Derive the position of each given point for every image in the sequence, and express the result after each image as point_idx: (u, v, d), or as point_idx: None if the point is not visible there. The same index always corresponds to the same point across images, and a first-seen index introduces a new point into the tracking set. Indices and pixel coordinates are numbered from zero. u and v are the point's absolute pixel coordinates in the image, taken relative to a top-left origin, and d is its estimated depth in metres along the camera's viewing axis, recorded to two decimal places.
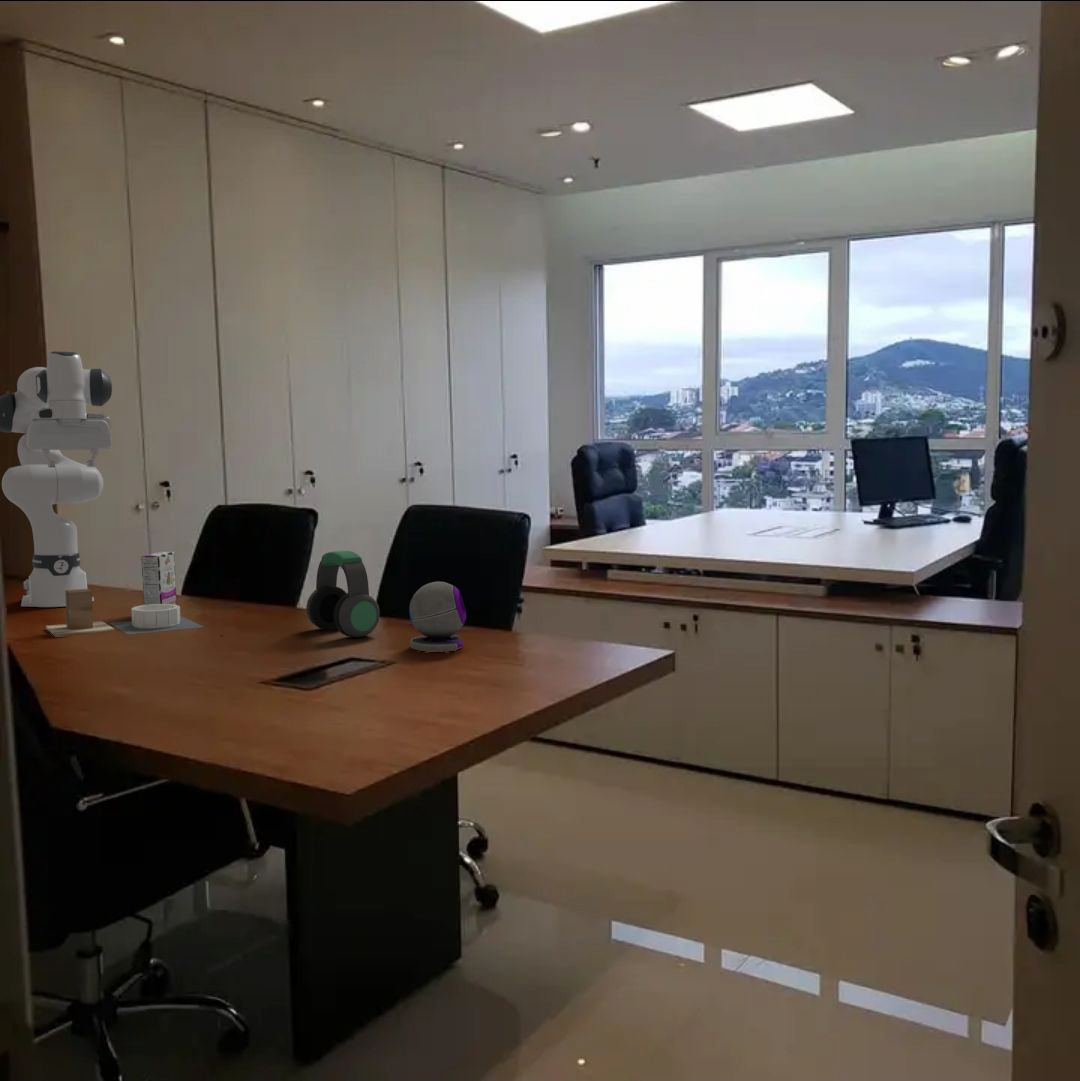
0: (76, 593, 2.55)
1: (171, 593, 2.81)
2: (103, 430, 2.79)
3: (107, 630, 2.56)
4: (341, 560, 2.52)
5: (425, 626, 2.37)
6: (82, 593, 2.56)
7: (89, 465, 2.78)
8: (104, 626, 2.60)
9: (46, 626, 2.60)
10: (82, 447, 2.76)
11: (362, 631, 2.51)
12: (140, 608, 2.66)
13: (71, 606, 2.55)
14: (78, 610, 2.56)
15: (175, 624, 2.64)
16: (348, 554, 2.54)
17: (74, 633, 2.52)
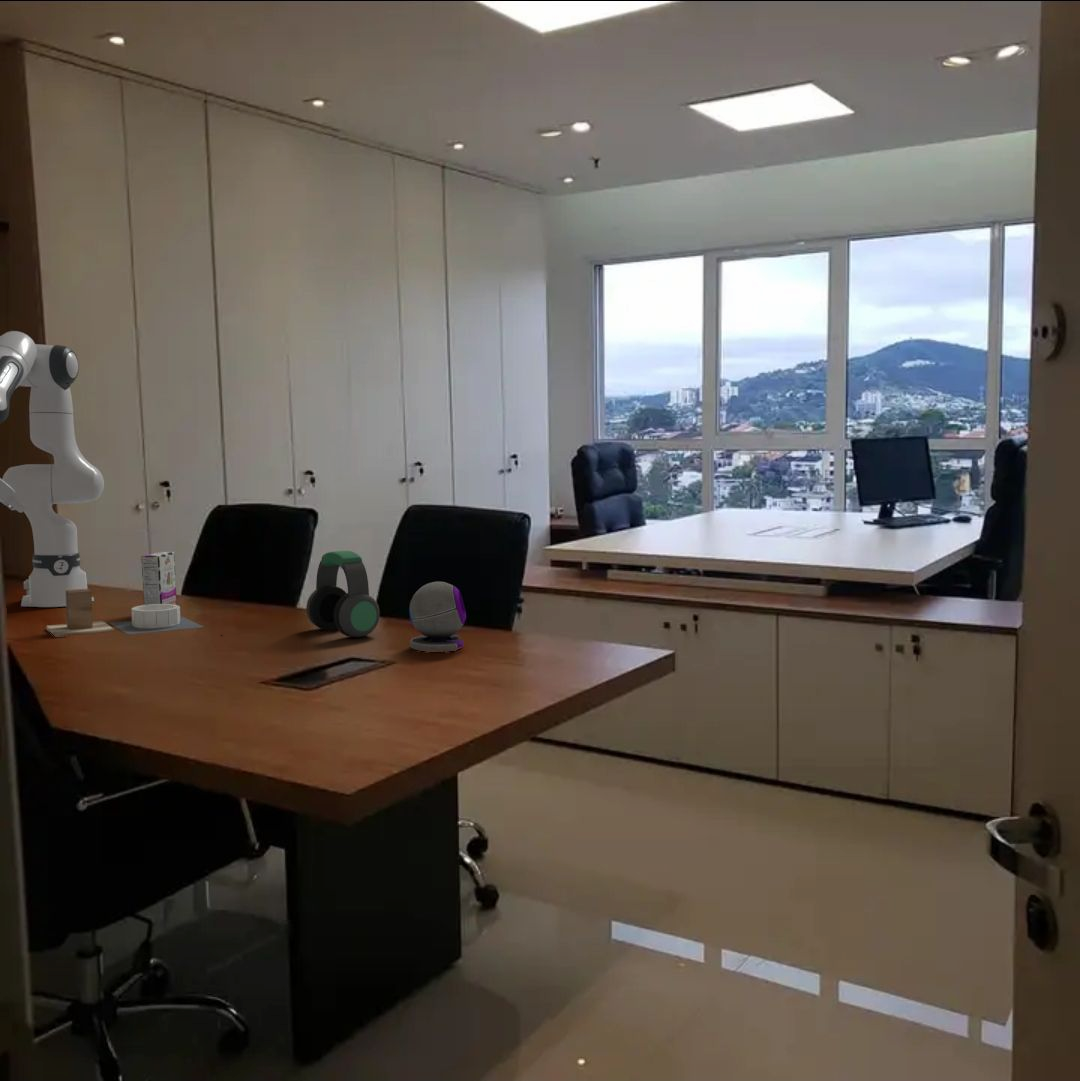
0: (76, 593, 2.55)
1: (171, 593, 2.81)
2: None
3: (106, 630, 2.56)
4: (341, 560, 2.52)
5: (425, 626, 2.37)
6: (82, 593, 2.56)
7: None
8: (104, 626, 2.60)
9: (47, 626, 2.60)
10: None
11: (362, 631, 2.51)
12: (140, 608, 2.66)
13: (71, 606, 2.55)
14: (78, 610, 2.56)
15: (175, 624, 2.64)
16: (348, 554, 2.54)
17: (73, 633, 2.52)
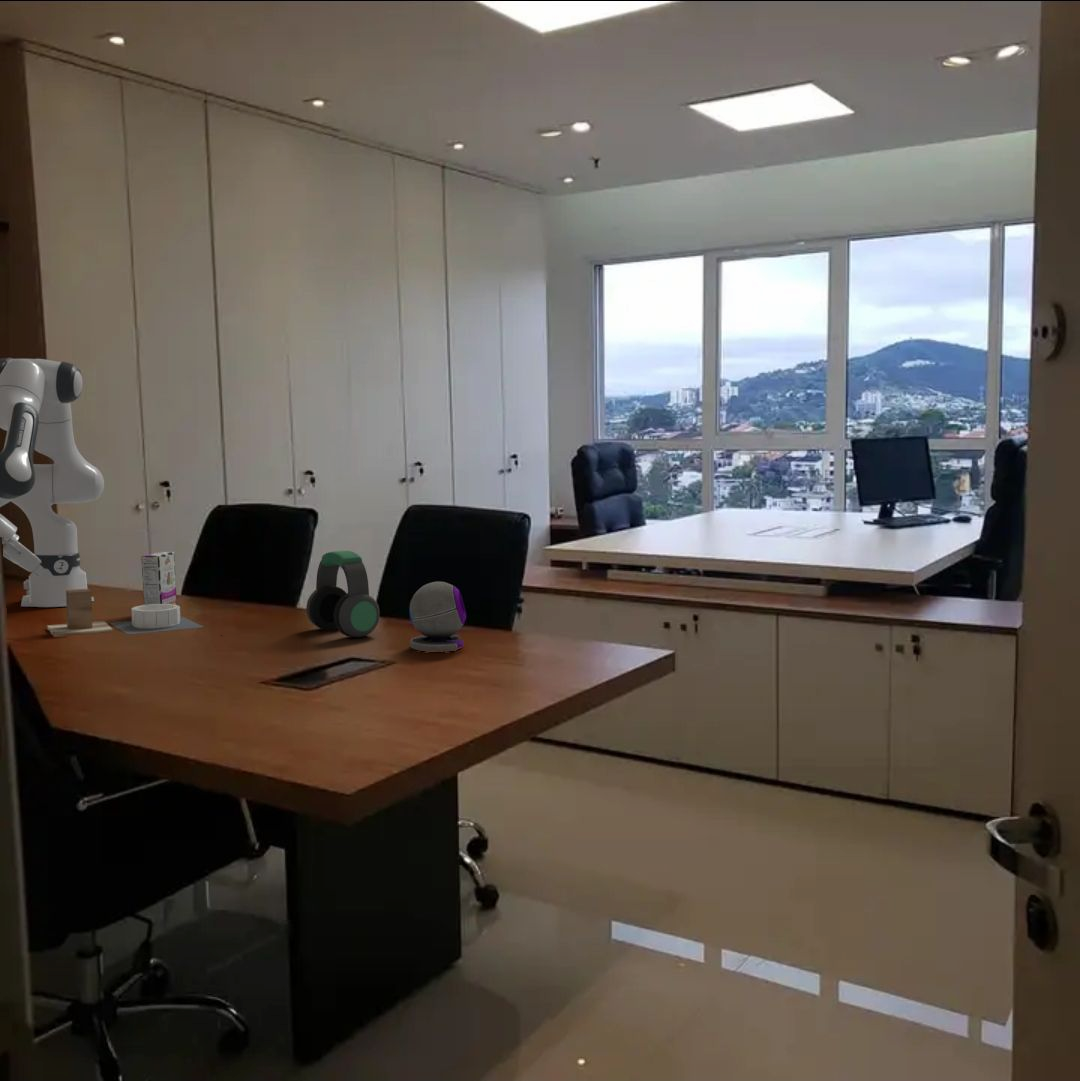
0: (75, 593, 2.55)
1: (171, 593, 2.81)
2: (13, 559, 2.42)
3: (105, 630, 2.56)
4: (341, 560, 2.52)
5: (425, 626, 2.37)
6: (81, 593, 2.56)
7: None
8: (104, 626, 2.60)
9: (47, 626, 2.60)
10: None
11: (362, 631, 2.51)
12: (140, 608, 2.66)
13: (70, 606, 2.55)
14: (78, 610, 2.56)
15: (175, 624, 2.64)
16: (348, 555, 2.54)
17: (72, 633, 2.52)
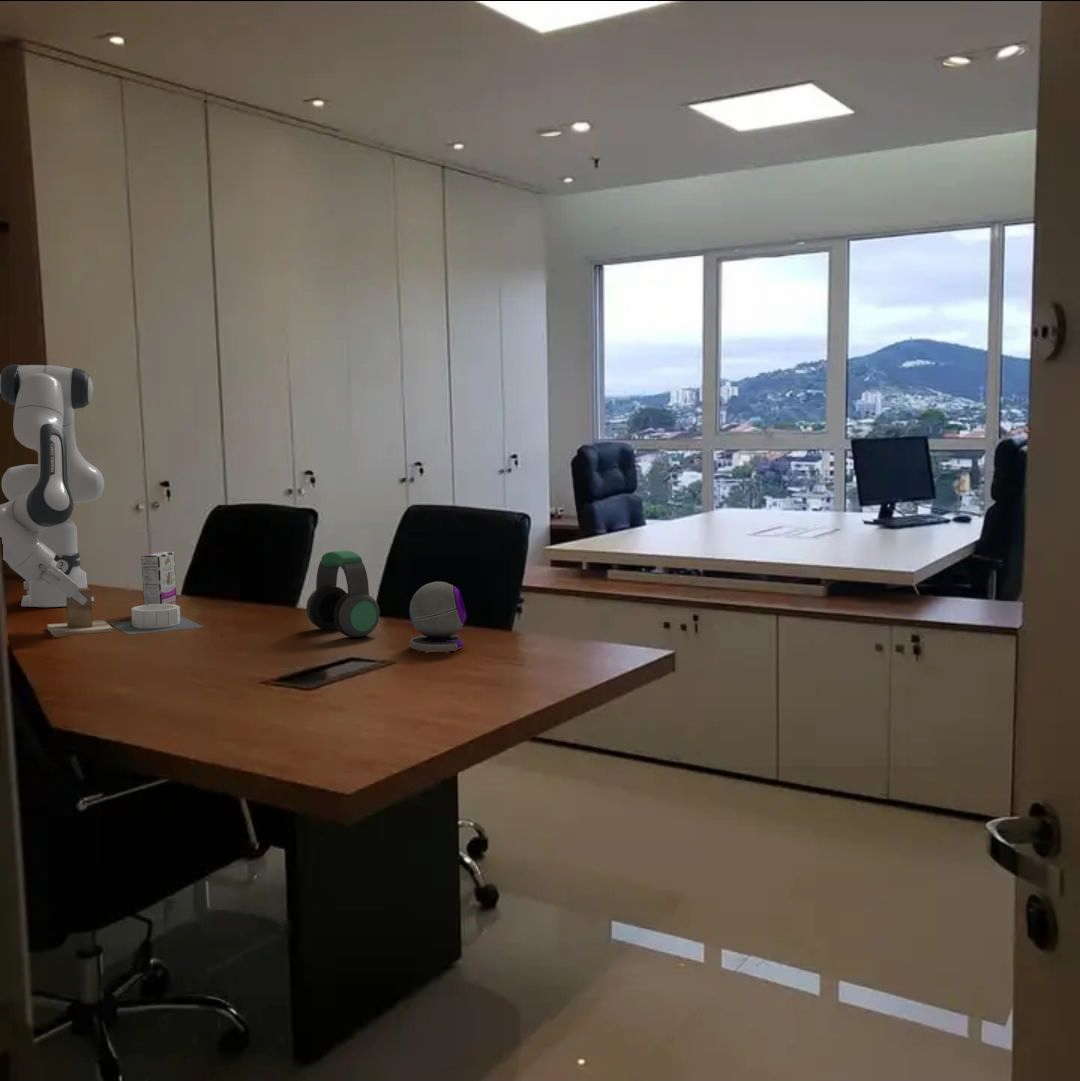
0: None
1: (171, 593, 2.81)
2: None
3: (105, 629, 2.56)
4: (341, 559, 2.52)
5: (425, 626, 2.37)
6: (81, 592, 2.56)
7: None
8: (104, 625, 2.60)
9: (47, 625, 2.60)
10: None
11: (362, 631, 2.51)
12: (140, 608, 2.66)
13: (70, 605, 2.55)
14: (78, 608, 2.56)
15: (175, 624, 2.64)
16: (348, 554, 2.54)
17: (72, 632, 2.52)
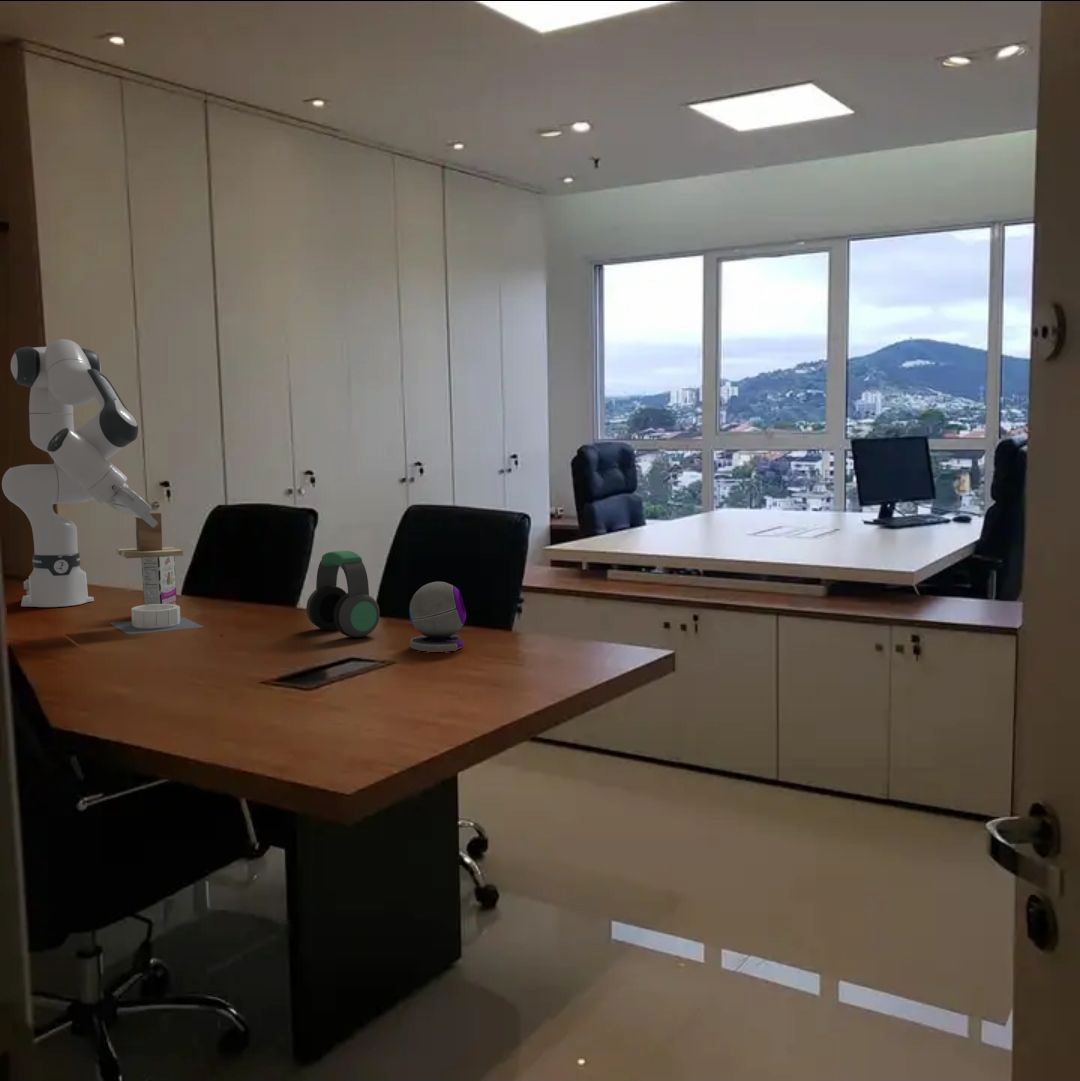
0: None
1: (171, 593, 2.81)
2: (125, 505, 2.51)
3: (176, 552, 2.60)
4: (341, 560, 2.52)
5: (425, 626, 2.37)
6: (152, 515, 2.60)
7: (151, 526, 2.60)
8: (173, 549, 2.64)
9: (117, 549, 2.64)
10: (134, 516, 2.58)
11: (362, 631, 2.51)
12: (140, 608, 2.66)
13: (141, 527, 2.59)
14: (148, 531, 2.60)
15: (175, 624, 2.64)
16: (348, 555, 2.54)
17: (144, 553, 2.56)
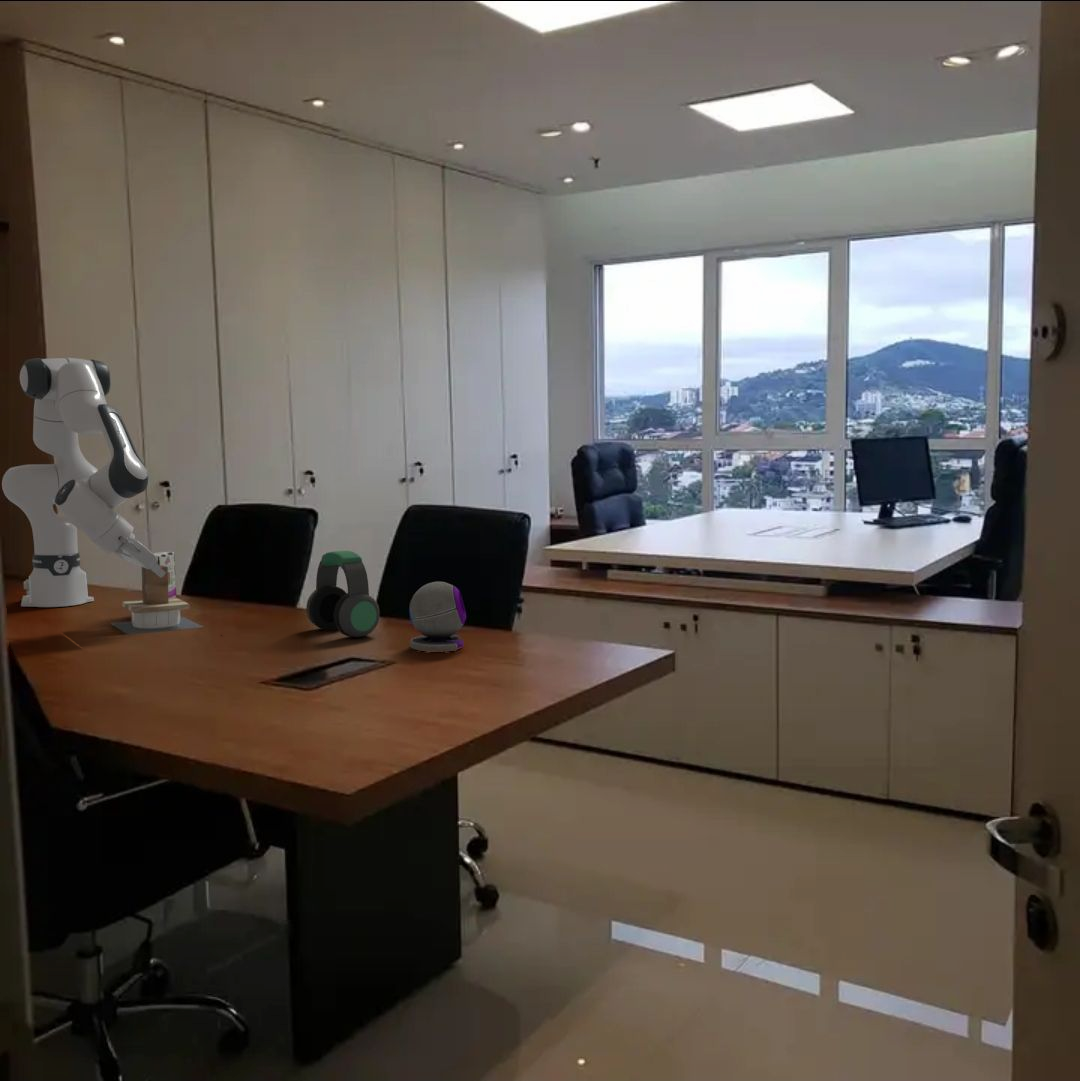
0: None
1: (171, 593, 2.81)
2: (132, 556, 2.53)
3: (183, 605, 2.62)
4: (341, 559, 2.52)
5: (425, 626, 2.37)
6: None
7: (159, 576, 2.61)
8: (179, 602, 2.66)
9: (123, 601, 2.66)
10: None
11: (362, 631, 2.51)
12: None
13: (148, 582, 2.61)
14: (155, 585, 2.62)
15: (175, 624, 2.64)
16: (348, 554, 2.54)
17: (151, 608, 2.58)
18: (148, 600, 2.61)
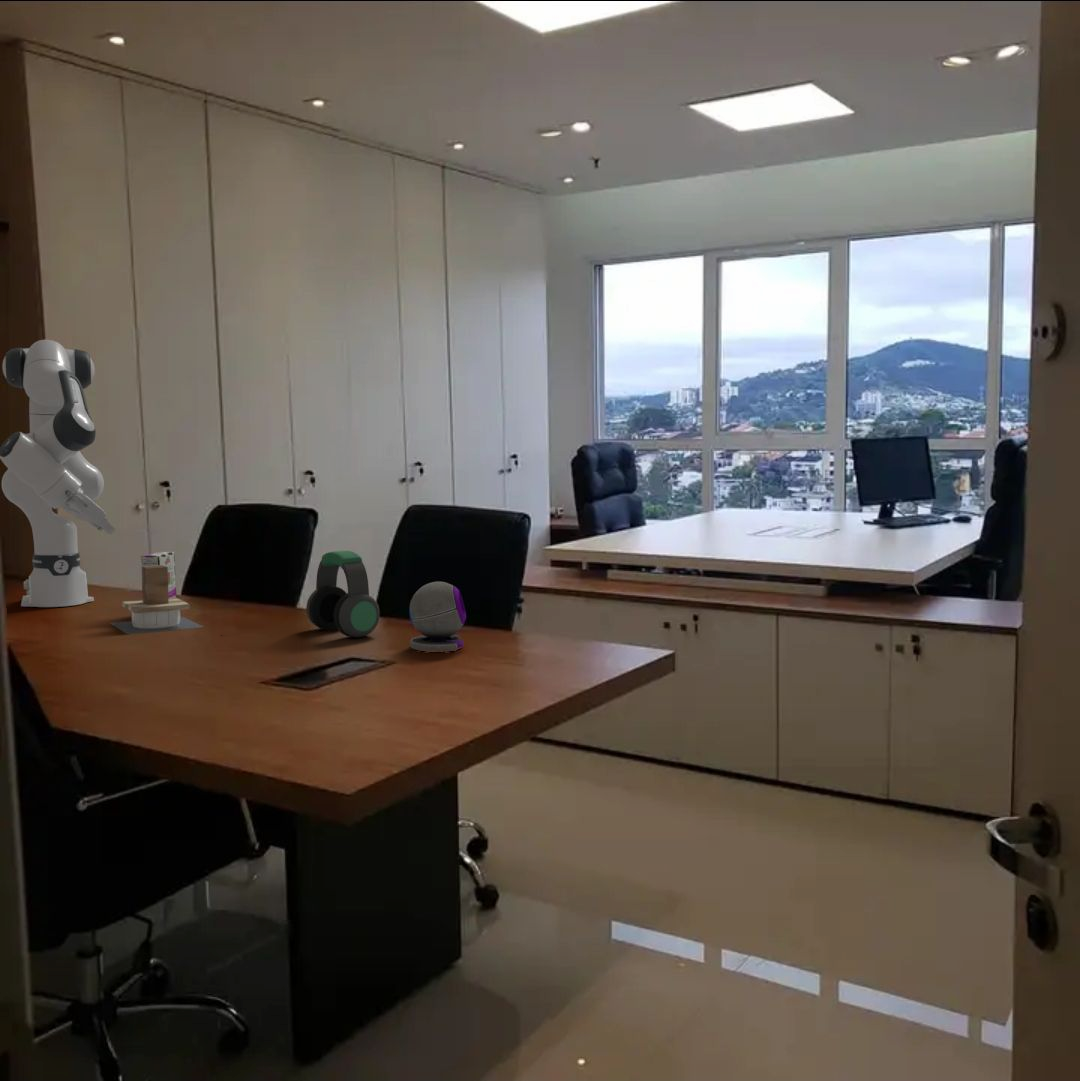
0: (153, 569, 2.61)
1: (171, 593, 2.81)
2: (79, 511, 2.46)
3: (183, 605, 2.62)
4: (341, 560, 2.52)
5: (425, 626, 2.37)
6: (158, 569, 2.62)
7: None
8: (179, 602, 2.66)
9: (123, 601, 2.66)
10: (89, 522, 2.52)
11: (362, 631, 2.51)
12: None
13: (148, 582, 2.61)
14: (155, 585, 2.62)
15: (175, 624, 2.64)
16: (348, 554, 2.54)
17: (151, 608, 2.58)
18: (148, 600, 2.61)
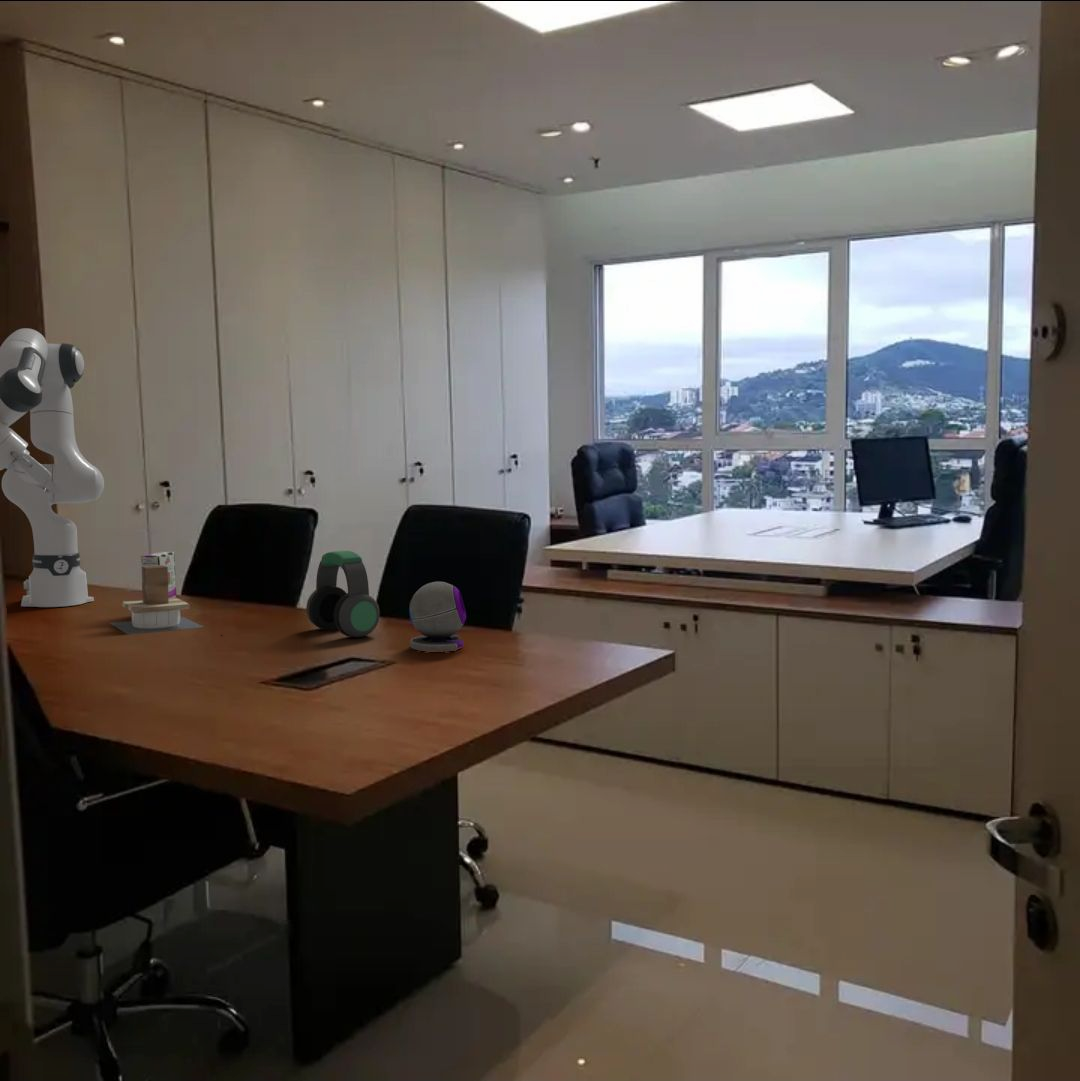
0: (153, 569, 2.61)
1: (171, 593, 2.81)
2: (24, 472, 2.47)
3: (183, 605, 2.62)
4: (341, 560, 2.52)
5: (425, 626, 2.37)
6: (158, 569, 2.62)
7: None
8: (179, 602, 2.66)
9: (123, 601, 2.66)
10: (35, 483, 2.53)
11: (362, 631, 2.51)
12: None
13: (148, 582, 2.61)
14: (155, 585, 2.62)
15: (175, 624, 2.64)
16: (348, 554, 2.54)
17: (151, 608, 2.58)
18: (148, 600, 2.61)
